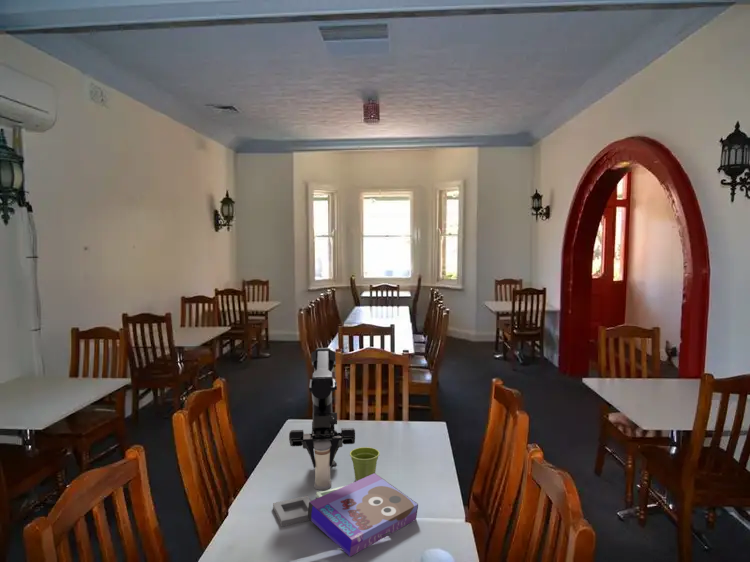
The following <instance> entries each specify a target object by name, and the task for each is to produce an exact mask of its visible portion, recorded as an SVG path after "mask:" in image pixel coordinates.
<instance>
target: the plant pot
mask: <svg viewBox="0 0 750 562" xmlns="http://www.w3.org/2000/svg"><path fill="white" fill-rule="evenodd" d="M349 456H350V457H351V462H352V464H353V473H354V479H355V482H356V481H358V480H360V479H362V478H365V477H367V476H369V475H371V474H374V473H376V469H377V463H378V462H377V461H378V459H379V456H380V451H379V450H378V449H376V448H375V447H374V448H373V447H367V446H362V447H357V448H354V449H352V450H351V451H350V452H349Z"/></svg>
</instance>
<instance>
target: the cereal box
mask: <svg viewBox="0 0 750 562" xmlns="http://www.w3.org/2000/svg"><path fill="white" fill-rule="evenodd" d="M343 486H344V487H343ZM343 486H341V487H342V488H340V489H337V490H335V491H333V492H331V493H328V494H326V495H324V496H322V497H319V498H317V497H316V498H315V499H313V500H310V502H309V507H308V518H309V519H310V520H309V521H311V522H312V523H313V524H314V525H315V526H317V528H319V530H321V531H322V532H323V533H324V534H325V535H326V536H327V537H328V538H329V539H330V540H331V541H332V542H334V544H336V545H337V546H339V548H340V549H341V550H342V551H343V552H345V554H347V555H348V556H349V557H352V556H354V555H356V554H357V553H359V552H361V551H363V550H365V549H367V548H369V547H370V546H372V545H373V544H376V543H377V542H378V541H380V540H383V539H384V538H386V537H388V536H389V533H390V534H394V533H395V532H396V531H398V530H400V529H401V528H403V527H405V526H407V525H409V524H410V523H412V522H414V521H416V520H417V517H418V509H419V503H417V502H416V501H414V499H412V498H410V497H409V496H408V495H406V494H405V493H404V492H402V491H401V490H400V489H398V488H397V487H396V486H394V485H393V484H391V483H390V482H388V481H387V480H385V479H384V478H383V477H382V476H380V475H379V474H378V473H376V472H375V473H374V474H371V475H369V476H367V477H365V478H362V479H360V480H358V481H356V480H355V481H353V482H351V483H349V484H346V485H343ZM387 533H388V534H387Z"/></svg>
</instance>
